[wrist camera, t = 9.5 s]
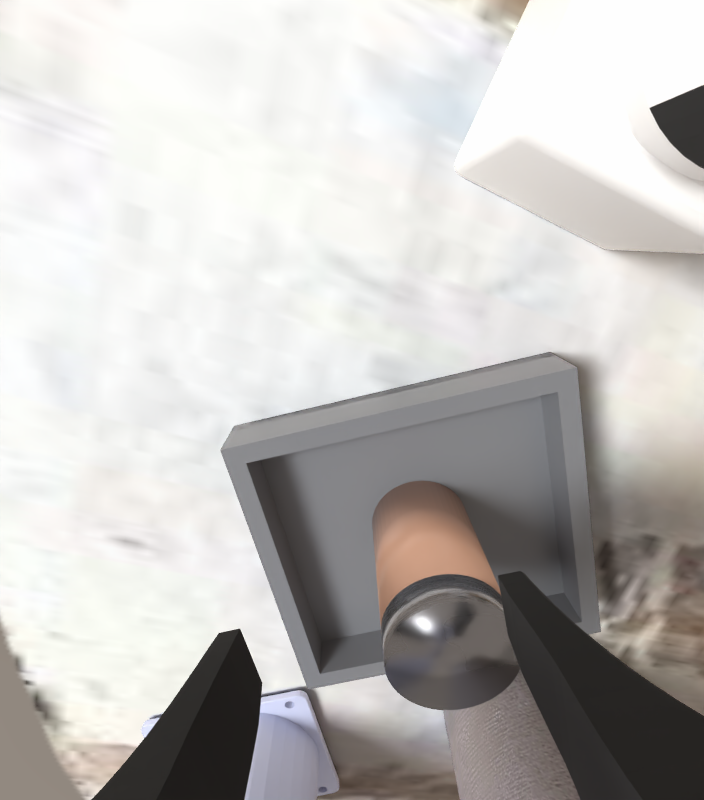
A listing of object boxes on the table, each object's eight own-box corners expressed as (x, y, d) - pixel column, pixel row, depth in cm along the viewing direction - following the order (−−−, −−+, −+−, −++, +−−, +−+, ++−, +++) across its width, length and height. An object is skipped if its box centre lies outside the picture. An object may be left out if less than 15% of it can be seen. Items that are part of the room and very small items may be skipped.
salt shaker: (384, 570, 23) (401, 721, 16) (361, 493, 21) (368, 620, 14) (474, 550, 23) (532, 695, 15) (457, 470, 21) (512, 589, 14)
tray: (311, 646, 25) (308, 689, 23) (234, 425, 21) (220, 449, 19) (575, 593, 24) (600, 631, 22) (549, 351, 20) (577, 367, 18)
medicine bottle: (720, 60, 17) (1506, -313, 5) (606, 252, 19) (1004, 274, 7) (548, -44, 16) (1076, -775, 4) (448, 172, 18) (631, 56, 6)
